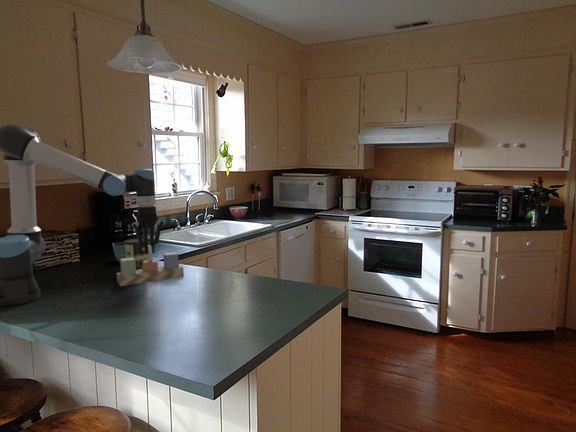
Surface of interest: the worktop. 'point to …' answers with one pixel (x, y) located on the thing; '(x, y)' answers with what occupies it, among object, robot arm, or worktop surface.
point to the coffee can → (135, 252)
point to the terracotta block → (150, 266)
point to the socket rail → (149, 276)
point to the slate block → (171, 260)
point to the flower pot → (119, 250)
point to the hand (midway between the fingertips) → (150, 260)
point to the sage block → (128, 266)
